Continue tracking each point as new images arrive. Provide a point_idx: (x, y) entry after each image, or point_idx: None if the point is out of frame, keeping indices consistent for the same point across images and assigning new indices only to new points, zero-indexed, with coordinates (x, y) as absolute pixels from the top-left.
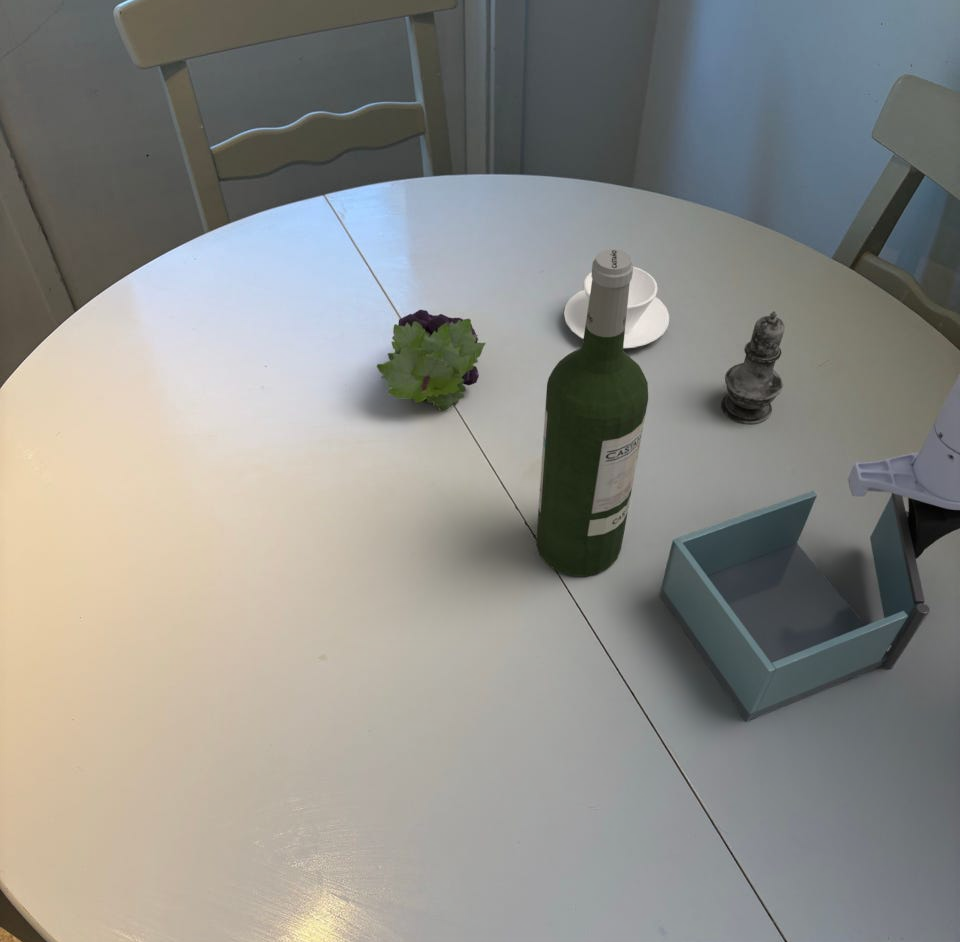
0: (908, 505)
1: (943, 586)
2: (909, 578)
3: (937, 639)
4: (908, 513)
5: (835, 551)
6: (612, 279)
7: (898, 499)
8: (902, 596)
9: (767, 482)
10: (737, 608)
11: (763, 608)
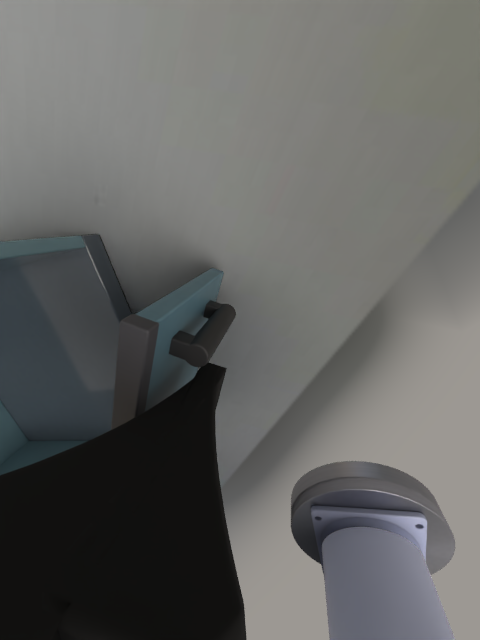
0: (130, 420)
1: (313, 363)
2: None
3: (254, 426)
4: (156, 405)
5: (170, 258)
6: None
7: (124, 367)
8: None
9: (72, 11)
10: (7, 341)
11: (36, 349)
